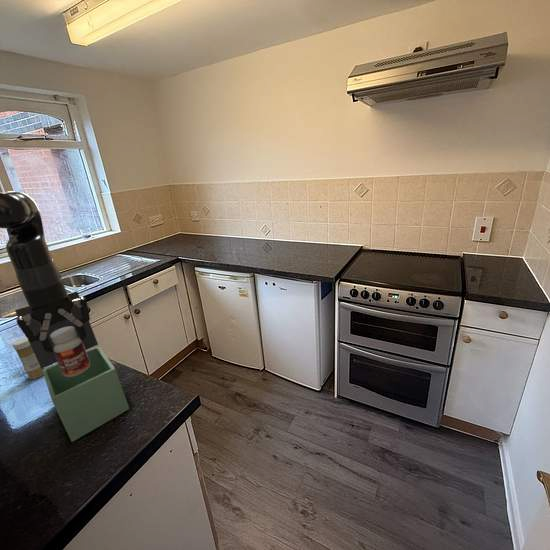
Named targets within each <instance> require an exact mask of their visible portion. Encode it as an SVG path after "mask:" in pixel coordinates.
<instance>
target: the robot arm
mask: <svg viewBox="0 0 550 550" xmlns="http://www.w3.org/2000/svg"><path fill="white" fill-rule="evenodd" d="M0 229H4V230H5V229H6V232H7V236H8V240H7V242H6V246H5V249H6V252H7V255H8V257H9V260H10V262H11V265H12V267H13V269H14V272H15V276H16V279H17V282H18V284H19V288H20V289H21V291H22V293H23V296H24V298H25V300H26V302H27V306H29V307H30V314H28V315H25V316H23V317H18V316H17V317H16V318H15V320H16V324H17V326H18V327H19V328H20V330H21V331H22V333H23V335H24V337H27V339H28V340H29V341H30V342H34V341H41V343H42V345H43V347H44V350H45V351H46V352H48V351H49V352H50V353H52V352H53V349H52V347H51V345H50V342H49V340H48V338H47V336H46V335H47V331H48V328H49V325H53V324H56V323H57V322H61V321H65V320H66V319H68V320H69V321H71V322H73V323H74V324H75V326H76V328H77V331H78V333H79V336H80V338H81V340H84V339H85V338H84V337H86V335H87V334H86V331H85V329H84V326H83V325H84V323H85V322H88V321H89V322H90V320H91V317H90V312H89V307H88V301H87V299H86V298H85V297H84V296H79V299H75V300H71V299H70V298H69V297H68V291H67V288H66V286H65V284H64V280H63V278H62V274H61V273H60V271H59V268H58V266H57V265H56V263H55V261H54V259H53V256H52V253H51V251H50V248H49V246H48V244H47V242H46V238H45V230H44V224H43V219H42V215H41V212H40V210H39V206H37V203H36V202H35V200H34V199H33V198H32V197H30V196H29V195H28V194H26V193H24V192H20V191H14V190H13V191H12V190H11V191H4V192H0ZM74 304H75V305H77V307H79V308H80V309H81V314H82V317H81V318H79V319H78V318H77V317H76V316H74V315H73V314H72V313H71V310H72V308H73V305H74ZM32 318H33V319H35V320H37V321H39V322H40V328H39V333H36V334H33V332H32V331H31V329H30V328H29V326H28V325H29V324H30V319H32Z"/></svg>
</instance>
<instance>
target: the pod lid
mask: <svg viewBox="0 0 550 550" xmlns="http://www.w3.org/2000/svg"><path fill="white" fill-rule="evenodd" d="M67 294H68V297H69V298H70V299H71V300H75V299H79V297H80V294H79V291H78V290H75V291H72V292H69V293H68V292H67ZM14 312H15V315H16V316H17V317H23V316H25V315H28V314H30V307H29V305H26V306H23V307H19V308H16V309H14ZM71 313H72V314H73V315H74V316H76V317H77V318H78V319H79V318H81V317H82V314H81V309H80V308H79V307H77V305H75V304H74V305H73V308H72V310H71ZM28 326H29V328H30V329H31V331H32V332H33V334H36V333H39V328H40V322H39V321H37V320H35V319H33V318H32V319H30V324H29V325H28ZM69 326H72V327H74V328H75V330H76V333H77V336H79V333H78V331H77V328H76V326H75V324H74V323H73V322H71V321H69V320H68V319H66V320H65V321H61V322H57V323H56V324H53V325H49V328H48V331H47V335H46V336H47V338H48V340H49V342H50V345H51V347H52V346H53V344H54V343H52V340H51V338H50V335H51V334H52V333H53V332H54V331H56V330H58V329H60V328H63V327H69ZM83 326H84V329H85V331H86V334H87V335H86V337H84V338H85V339H84V340H82V342H83V344H84V347H85V350H86V351H88V350H90V349H92V348H95V347H97V346H99V343H98V340H97V338H96V335H95V333H94V330H93V328H92V324H91V323H90V320H89V321H88V322H85V323H84V325H83ZM79 337H80V336H79ZM28 341H29V340H28ZM29 343H30V345H31V347H32V349H33V352H34V354H35V356H36V358H37V360H38V363H39V365H40V367H41V369H42V368H44V369H45V368H48V367H50V366H52V365H55V364H57V363H58V361H57V359H56V357H55V354H54V352H52V353H50V352H49V351H48V352H46V351H45V350H44V347H43V345H42V343H41V341H34V342H30V341H29Z"/></svg>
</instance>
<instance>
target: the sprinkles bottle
mask: <svg viewBox="0 0 550 550" xmlns="http://www.w3.org/2000/svg"><path fill="white" fill-rule="evenodd" d="M12 347H13V349H14V351H15V352H16V354H17V356H18V358H19V360H20V362H21V364H22V366H23V368H24V371H25V372H26V374H27V376H28V379H29V380H36V379H39V378H41V377H43V376H44V375H43V372H42V370H43V369H45V367H44V368H42V369H41V367H40V365H39V363H38V360H37V358H36V356H35V354H34V352H33V349H32V347H31V345H30V343H29V341H28V339H27V337H26V336H24V337H21V338H18V339H16V340H14V341H13V342H12Z"/></svg>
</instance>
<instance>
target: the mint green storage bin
mask: <svg viewBox="0 0 550 550" xmlns="http://www.w3.org/2000/svg"><path fill="white" fill-rule="evenodd" d="M86 352H87V355H88V358H89V361H90V367H89V368H88V369H87V370H86V371H85V372H83V373H81V374H79V375H76V376H73V377H66V376H64V375H63V373H62V371H61V368H60V366H59V364H58V362H56V363H54V364H51V365H49V366H47V367H44V369H43V370H42V372H43V375H42V376H43V377H44V381H45V384H46V387H47V390H48V393H49V396H50V399H51V402H52V404H53V405H54V407H55V410H56V412H57V414H58V416H59V418H60V420H61V423H62V425H63V427H64V430H65V431H66V433H67V436H68V437H69V439H70V442H71V443H74V442H75V441H77V440H78V439H80V438H82V437H84V436H85V435H88V433H90V432H92V431H93V430H94V431H95V430H96V429H97V428H99V427H101V426H102V425H104V424H106V423H107V422H109V421H111V420H113V419H114V418H116V417H118V416H120V415H121V414H124V412H126V411H128V410H130V406H129V404H128V400H127V398H126V395H125V392H124V390H123V387H122V383H121V381H120V378H119V375H118V372H117V369H116V368H115V366H114V365H113V363H112V362H111V361H110V360H109V358H108V357H107V355H106V354H105V352H104V351H103V350H102V348H101V347H100V346H99V345H96V346H94V347H92V348H89V349H87V350H86Z"/></svg>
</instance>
